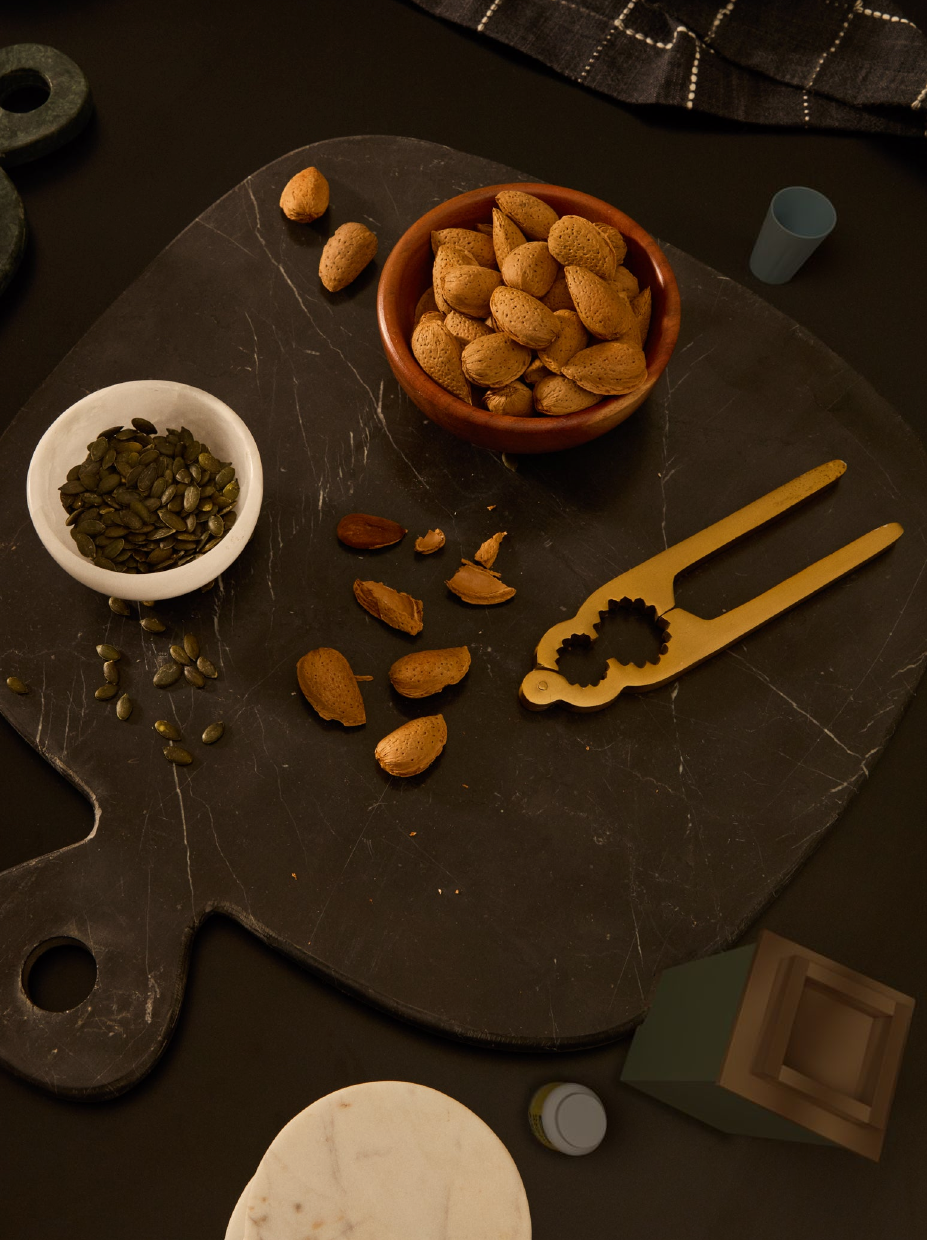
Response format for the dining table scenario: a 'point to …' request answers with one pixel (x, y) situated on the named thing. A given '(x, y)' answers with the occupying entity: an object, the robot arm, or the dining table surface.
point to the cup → (791, 233)
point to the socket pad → (817, 1044)
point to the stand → (701, 1048)
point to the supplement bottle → (567, 1118)
